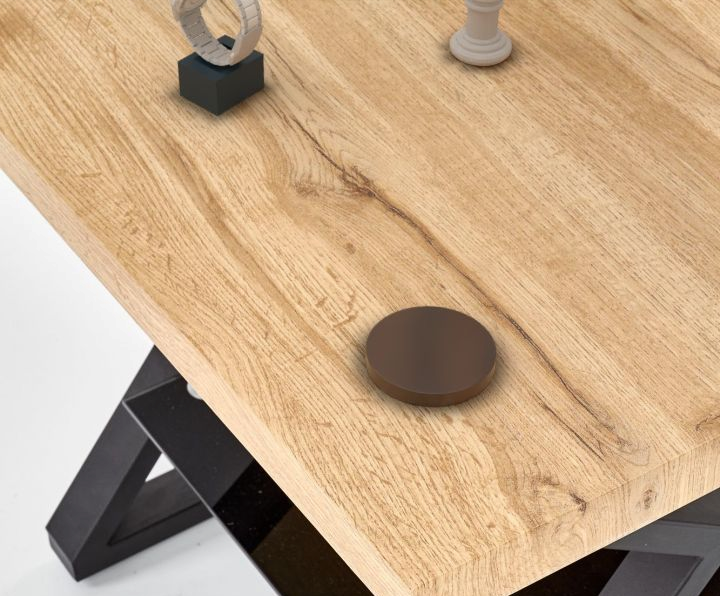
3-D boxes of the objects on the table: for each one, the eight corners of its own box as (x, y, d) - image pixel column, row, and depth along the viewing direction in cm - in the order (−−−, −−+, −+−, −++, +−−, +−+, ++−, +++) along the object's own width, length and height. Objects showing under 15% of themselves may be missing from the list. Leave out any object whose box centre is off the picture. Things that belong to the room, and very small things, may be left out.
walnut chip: (488, 318, 112) (490, 305, 111) (501, 406, 106) (502, 393, 105) (362, 319, 112) (362, 306, 111) (367, 407, 106) (368, 394, 105)
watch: (210, 59, 133) (203, -65, 125) (280, 95, 130) (277, -29, 121) (162, 86, 130) (152, -39, 122) (232, 124, 127) (227, -1, 118)
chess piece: (440, 39, 136) (447, -60, 129) (497, 30, 137) (507, -68, 130) (461, 72, 133) (469, -27, 126) (520, 63, 134) (531, -36, 127)
